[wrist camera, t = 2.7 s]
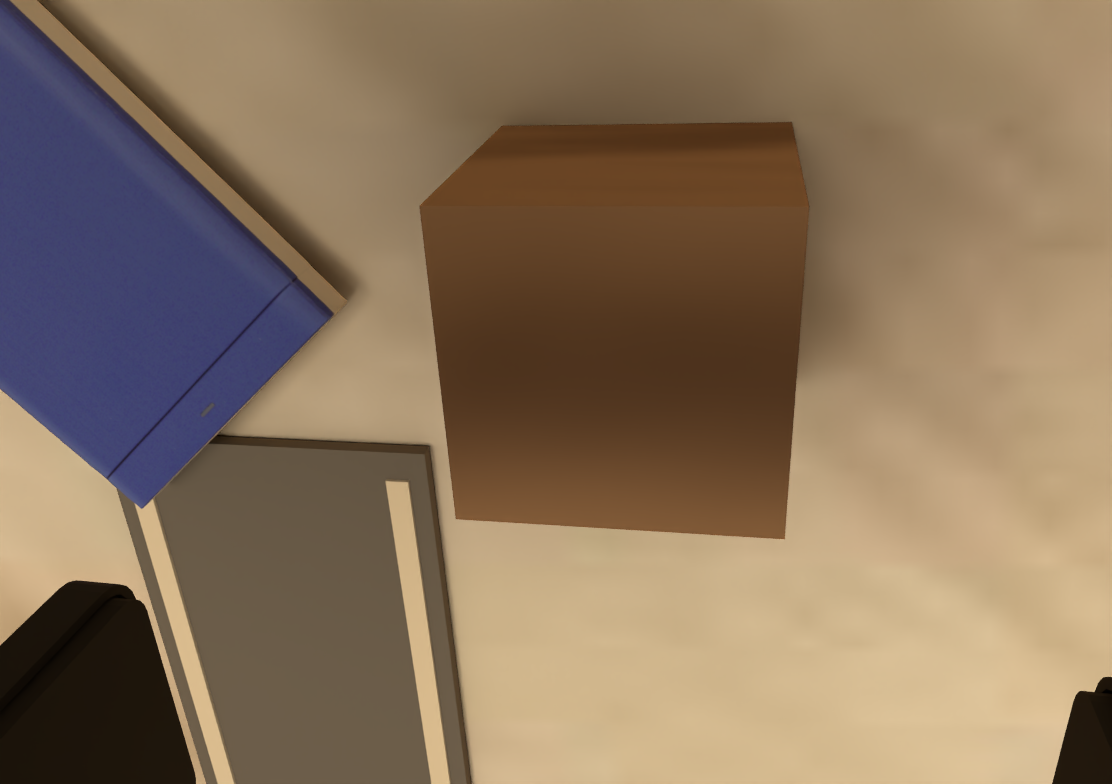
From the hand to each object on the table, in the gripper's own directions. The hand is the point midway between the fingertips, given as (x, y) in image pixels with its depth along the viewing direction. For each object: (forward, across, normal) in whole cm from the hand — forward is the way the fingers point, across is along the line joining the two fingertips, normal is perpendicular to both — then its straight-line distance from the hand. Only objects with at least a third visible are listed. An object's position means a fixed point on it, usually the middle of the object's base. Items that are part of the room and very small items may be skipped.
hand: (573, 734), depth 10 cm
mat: (+13, +11, +12) cm, 20 cm away
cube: (+13, +1, -1) cm, 13 cm away
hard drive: (+13, +15, -2) cm, 20 cm away
